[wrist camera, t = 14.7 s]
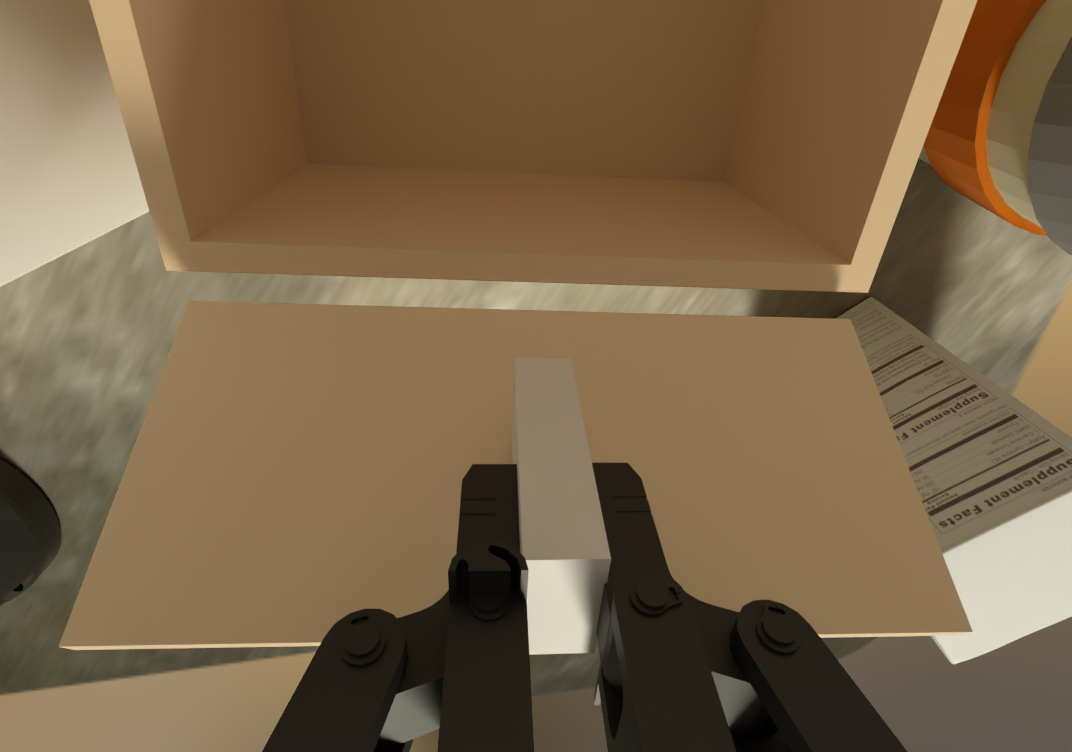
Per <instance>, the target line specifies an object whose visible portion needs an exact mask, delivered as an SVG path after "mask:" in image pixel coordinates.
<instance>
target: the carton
mask: <svg viewBox="0 0 1072 752" xmlns="http://www.w3.org/2000/svg"><path fill="white" fill-rule="evenodd" d="M89 2H90V5H91V9H92V12H93V16H94V19H95V23H96V26H97V30H98V33H99V37H100V40H101V44H102V47H103V51H104V54H105V58H106V61H107V65H108V68H109V72H110V75H111V79H112V82H113V86H114V89H115V93H116V96H117V100H118V103H119V107H120V110H121V114H122V117H123V121H124V124H125V128H126V131H127V135H128V138H129V142H130V145H131V149H132V152H133V156H134V159H135V163H136V166H137V170H138V173H139V177H140V180H141V184H142V187H143V191H144V194H145V198H146V201H147V205H148V208H149V212H150V215H151V219H152V222H153V226H154V229H155V233H156V236H157V240H158V243H159V247H160V250H161V254H162V257H163V261H164V264H165V268H166V271H194V272H226V273H257V274H289V275H321V276H353V277H384V278H416V279H448V280H480V281H512V282H543V283H575V284H607V285H639V286H671V287H702V288H734V289H766V290H798V291H829V292H861V293H868V292H869V289H870V286H871V284H872V281H873V278H874V276H875V273H876V270H877V268H878V265H879V262H880V260H881V257H882V254H883V252H884V249H885V246H886V244H887V241H888V238H889V235H890V233H891V230H892V227H893V225H894V222H895V219H896V217H897V214H898V211H899V209H900V206H901V203H902V201H903V198H904V195H905V193H906V190H907V187H908V185H909V182H910V179H911V177H912V174H913V171H914V169H915V166H916V163H917V161H918V158H919V155H920V153H921V150H922V147H923V145H924V142H925V139H926V137H927V134H928V131H929V129H930V126H931V123H932V121H933V118H934V115H935V113H936V110H937V107H938V105H939V102H940V99H941V97H942V94H943V91H944V88H945V86H946V83H947V80H948V78H949V75H950V72H951V70H952V67H953V64H954V62H955V59H956V56H957V54H958V51H959V48H960V46H961V43H962V40H963V38H964V35H965V32H966V30H967V27H968V24H969V22H970V19H971V16H972V14H973V11H974V8H975V6H976V3H977V0H89Z"/></svg>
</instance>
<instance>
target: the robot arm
mask: <svg viewBox="0 0 1072 752" xmlns="http://www.w3.org/2000/svg"><path fill="white" fill-rule="evenodd" d="M512 460H513V464H472V466H471V467H470V469H469V470H468V472H467V473H466V475H465V476H464V478H463V480H462V487H461V502H460V512H459V525H458V538H457V550H456V555H455V556H454V557H453V558H452V560H451V563H450V566H449V569H448V583H449V590H448V591H447V592H446V593H445V595H444V596H443V597H442V598H441V599H440V600H439V601H437V602H436V603H434V604H433V605H432V606H430V607H428V608H425V609H423V610H421V611H418V612H415V613H412V614H409V615H406V616H403V617H400V618H396V617H395V615H394V614H392V613H389V612H387V611H384V610H382V609H362V610H359V611H356V612H352V613H349V614H348V615H346V616H345V617H343V618H342V619H340V620H339V621H337V622H336V623H335V624H334V625H333V626H332V628H331V629H330V630H329V632H328V633H327V634H326V635H325V637H324V639H323V640H322V642H321V644H320V646H319V648H318V650H317V651H316V653H315V655H314V657H313V659H312V661H311V663H310V664H309V666H308V668H307V670H306V672H305V674H304V675H303V677H302V679H301V681H300V683H299V685H298V687H297V688H296V690H295V692H294V694H293V696H292V698H291V700H290V701H289V703H288V705H287V707H286V709H285V711H284V713H283V714H282V716H281V718H280V720H279V722H278V723H277V725H276V727H275V729H274V731H273V733H272V735H271V736H270V738H269V740H268V742H267V744H266V746H265V748H264V749H263V751H262V752H409V751H410V748H411V745H412V742H413V739H414V738H417V737H419V736H422V735H424V734H427V733H429V732H432V731H434V730H437V729H439V728H440V729H439V741H438V752H534V743H533V742H534V741H533V721H532V700H531V679H530V659H529V654H564V653H595V649H596V643H597V641H598V647H599V654H600V660H601V662H600V667H599V673H598V678H597V683H596V689H595V698H594V705H600V701H601V706H602V713H603V720H604V727H605V734H606V741H607V748H608V752H907V751H906V749H905V748H904V747H903V745H902V744H901V743H900V741H899V740H898V739H897V738H896V736H895V735H894V734H893V732H892V731H891V730H890V728H889V727H888V726H887V724H886V723H885V722H884V721H883V719H882V718H881V717H880V715H879V714H878V713H877V712H876V710H875V709H874V707H873V706H872V705H871V703H870V702H869V701H868V700H867V698H866V697H865V696H864V694H863V693H862V692H861V690H860V689H859V688H858V687H857V685H856V684H855V683H854V681H853V680H852V679H851V677H850V676H849V675H848V673H847V672H846V671H845V670H844V668H843V667H842V666H841V664H840V663H839V662H838V660H837V659H836V658H835V656H834V655H833V654H832V652H831V651H830V650H829V648H828V647H827V646H826V645H825V643H824V642H823V641H822V639H821V638H820V637H819V635H818V634H817V633H816V631H815V630H814V629H813V628H812V626H811V625H810V624H809V623H808V622H807V621H806V620H805V619H804V618H803V617H802V616H801V615H800V614H799V613H798V612H797V611H795V610H793V609H791V608H790V607H788V606H786V605H785V604H782V603H779V602H775V601H771V600H754V601H752V602H750V603H748V604H746V605H744V606H743V607H742V609H741V610H740V612H736V611H733V610H729V609H725V608H722V607H718V606H715V605H711V604H708V603H705V602H703V601H700V600H698V599H696V598H694V597H693V596H691V595H689V594H688V593H687V592H685V591H684V590H683V588H682V586H681V585H680V584H679V583H677V582H676V581H675V580H674V579H673V577H672V575H671V573H670V571H669V569H668V566H667V562H666V559H665V556H664V552H663V549H662V546H661V542H660V539H659V536H658V532H657V529H656V526H655V522H654V519H653V516H652V515H651V509H650V506H649V502H648V500H647V495H646V492H645V489H644V485H643V482H642V479H641V477H640V476H639V475H638V474H637V473H636V472H635V470H634V469H633V468H632V467H631V466H630V465H629V463H592V461H591V456H590V451H589V447H588V442H587V437H586V432H585V427H584V422H583V417H582V412H581V407H580V402H579V397H578V392H577V387H576V382H575V377H574V372H573V367H572V362H571V358H514V384H513V418H512ZM60 543H61V530H60V525H59V522H58V519H57V516H56V514H55V512H54V510H53V508H52V506H51V505H50V503H49V502H48V500H47V499H46V498H45V496H44V495H43V494H42V493H41V492H40V491H39V489H38V488H37V487H36V486H35V485H34V484H33V483H32V482H31V481H30V480H28V479H27V478H26V477H25V476H24V475H23V474H21V473H20V472H19V471H17V470H16V469H15V468H13V467H12V466H11V465H9V464H8V463H6V462H4V461H3V460H1V459H0V606H1V605H2V604H3V603H5V602H8V601H10V600H11V599H13V598H15V597H16V596H18V595H19V594H21V593H22V592H24V591H25V590H26V589H28V588H29V587H30V586H31V585H32V584H33V583H34V582H35V581H36V580H37V579H38V577H39V576H40V575H41V574H42V573H43V571H44V570H45V569H46V568H47V567H48V566H49V564H50V563H51V562H52V561H53V559H54V558H55V557H56V555H57V553H58V551H59V548H60Z"/></svg>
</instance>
